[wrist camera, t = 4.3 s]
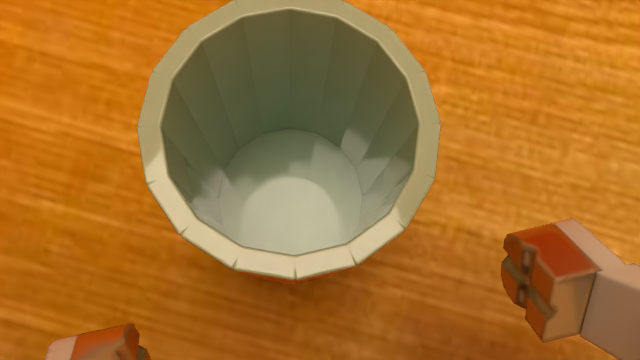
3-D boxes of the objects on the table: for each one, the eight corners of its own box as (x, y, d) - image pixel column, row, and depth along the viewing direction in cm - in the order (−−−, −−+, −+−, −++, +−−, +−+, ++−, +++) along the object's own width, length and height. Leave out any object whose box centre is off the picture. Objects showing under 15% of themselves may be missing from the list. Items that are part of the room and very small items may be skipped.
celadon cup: (225, 300, 18) (166, 311, 9) (195, 140, 19) (117, 17, 11) (389, 262, 19) (476, 237, 10) (349, 109, 20) (396, -30, 11)
